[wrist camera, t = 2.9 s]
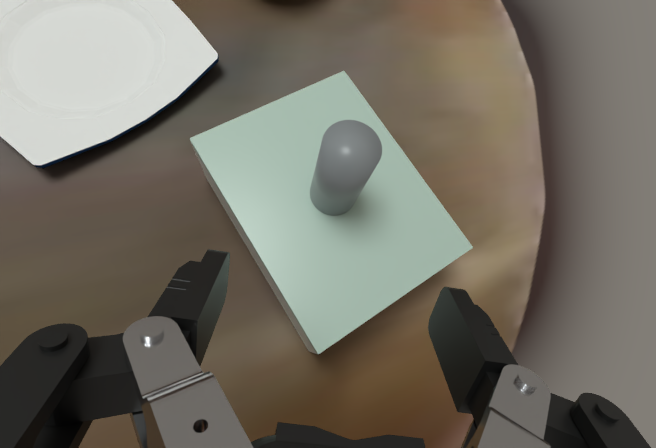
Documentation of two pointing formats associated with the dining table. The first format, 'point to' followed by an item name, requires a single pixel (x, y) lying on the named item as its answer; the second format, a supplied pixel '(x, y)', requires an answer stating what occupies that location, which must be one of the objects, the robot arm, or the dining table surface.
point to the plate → (91, 71)
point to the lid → (330, 206)
